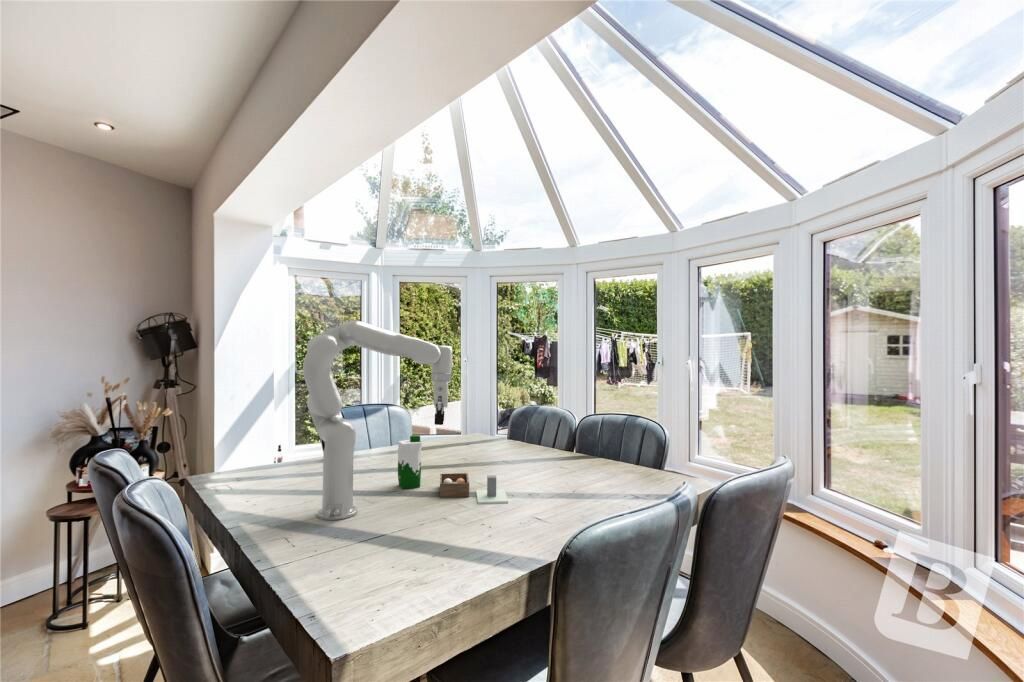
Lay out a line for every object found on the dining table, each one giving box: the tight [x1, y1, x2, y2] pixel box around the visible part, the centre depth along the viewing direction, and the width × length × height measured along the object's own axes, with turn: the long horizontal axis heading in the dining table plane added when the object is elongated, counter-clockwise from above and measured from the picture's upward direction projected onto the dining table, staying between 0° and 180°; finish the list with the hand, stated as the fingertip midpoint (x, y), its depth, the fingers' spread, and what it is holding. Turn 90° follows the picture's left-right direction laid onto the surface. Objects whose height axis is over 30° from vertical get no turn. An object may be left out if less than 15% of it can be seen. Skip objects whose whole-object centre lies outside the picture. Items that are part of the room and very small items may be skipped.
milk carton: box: [397, 434, 423, 490], centre depth 191 cm, size 9×9×20 cm
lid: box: [475, 474, 509, 505], centre depth 177 cm, size 15×11×8 cm
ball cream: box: [443, 478, 452, 484], centre depth 187 cm, size 4×4×4 cm
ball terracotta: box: [456, 478, 465, 483], centre depth 187 cm, size 4×4×4 cm
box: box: [439, 472, 470, 498], centre depth 184 cm, size 15×11×5 cm
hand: (439, 422), depth 179 cm, fingers open, 9 cm apart
